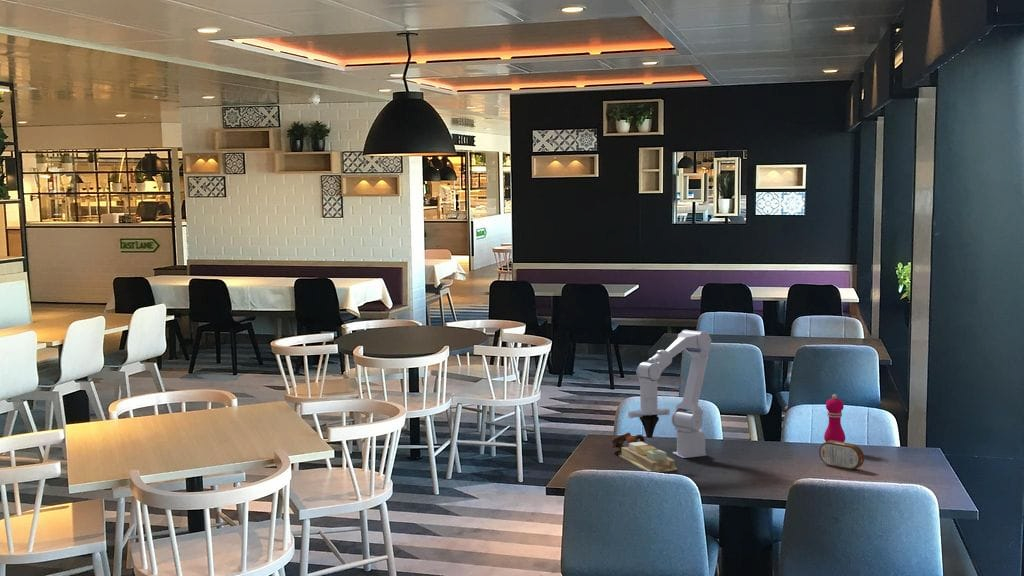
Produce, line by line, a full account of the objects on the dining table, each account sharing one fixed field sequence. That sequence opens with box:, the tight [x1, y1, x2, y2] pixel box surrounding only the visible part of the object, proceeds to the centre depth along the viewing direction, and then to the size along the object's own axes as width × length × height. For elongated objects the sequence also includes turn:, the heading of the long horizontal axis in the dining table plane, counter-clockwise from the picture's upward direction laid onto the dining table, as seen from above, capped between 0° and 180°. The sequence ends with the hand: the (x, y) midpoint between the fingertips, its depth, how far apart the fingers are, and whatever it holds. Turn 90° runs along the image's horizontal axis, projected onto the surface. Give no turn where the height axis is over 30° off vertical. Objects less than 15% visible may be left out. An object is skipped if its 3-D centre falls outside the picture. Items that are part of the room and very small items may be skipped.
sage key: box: [647, 449, 668, 461], centre depth 334 cm, size 5×5×2 cm
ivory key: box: [628, 441, 649, 452], centre depth 348 cm, size 5×5×2 cm
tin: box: [818, 440, 865, 471], centre depth 330 cm, size 15×3×8 cm, turn 43°
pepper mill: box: [823, 393, 846, 442], centre depth 354 cm, size 7×7×20 cm
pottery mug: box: [611, 432, 646, 451], centre depth 358 cm, size 12×10×8 cm
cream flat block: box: [637, 444, 658, 456], centre depth 341 cm, size 5×5×2 cm
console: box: [618, 446, 678, 473], centre depth 341 cm, size 10×24×3 cm, turn 18°
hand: (649, 437), depth 339 cm, fingers closed
